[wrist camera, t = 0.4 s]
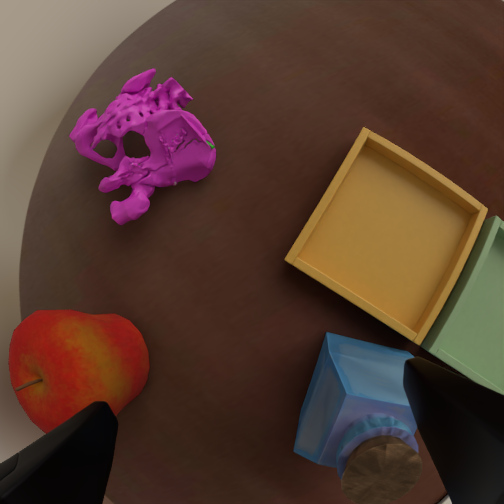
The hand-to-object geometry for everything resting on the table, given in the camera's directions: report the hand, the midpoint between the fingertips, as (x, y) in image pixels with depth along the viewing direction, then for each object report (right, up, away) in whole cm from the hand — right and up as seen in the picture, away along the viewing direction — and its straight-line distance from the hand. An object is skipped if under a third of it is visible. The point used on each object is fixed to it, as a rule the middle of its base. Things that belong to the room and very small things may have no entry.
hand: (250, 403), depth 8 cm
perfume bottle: (+7, -5, +13) cm, 15 cm away
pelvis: (-8, +13, +17) cm, 23 cm away
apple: (-11, -4, +16) cm, 20 cm away
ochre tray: (+10, +5, +13) cm, 17 cm away
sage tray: (+19, -1, +10) cm, 22 cm away
